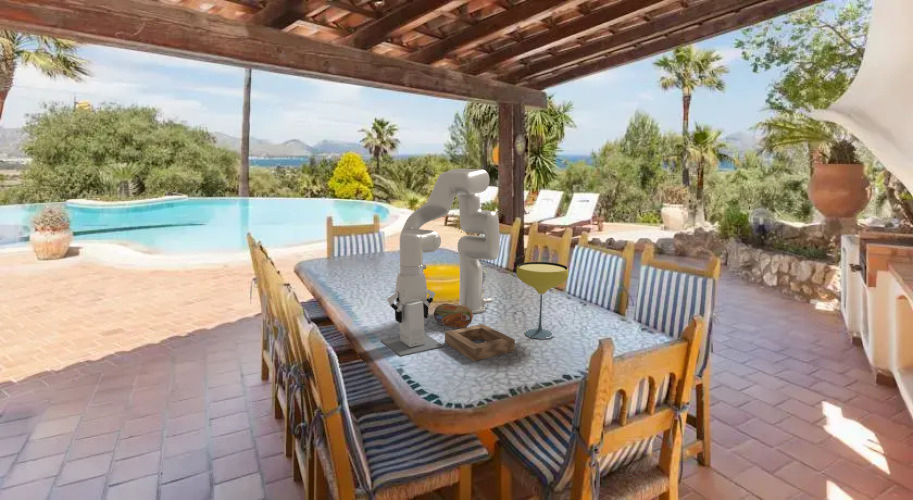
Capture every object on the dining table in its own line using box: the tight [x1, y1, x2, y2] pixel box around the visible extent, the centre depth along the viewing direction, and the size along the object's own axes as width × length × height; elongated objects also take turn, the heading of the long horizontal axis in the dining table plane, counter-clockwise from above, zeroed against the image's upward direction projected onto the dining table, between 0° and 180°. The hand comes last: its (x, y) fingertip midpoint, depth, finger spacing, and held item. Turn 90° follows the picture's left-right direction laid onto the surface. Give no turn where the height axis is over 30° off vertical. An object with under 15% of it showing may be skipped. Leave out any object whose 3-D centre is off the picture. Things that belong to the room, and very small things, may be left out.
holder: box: [444, 323, 516, 362], centre depth 159 cm, size 16×18×4 cm
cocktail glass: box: [516, 261, 569, 339], centre depth 170 cm, size 18×18×25 cm
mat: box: [380, 332, 445, 357], centre depth 161 cm, size 16×16×1 cm
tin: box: [433, 303, 474, 329], centre depth 180 cm, size 15×3×8 cm, turn 70°
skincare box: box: [398, 301, 426, 347], centre depth 160 cm, size 8×6×15 cm
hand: (412, 319), depth 160 cm, fingers open, 9 cm apart
